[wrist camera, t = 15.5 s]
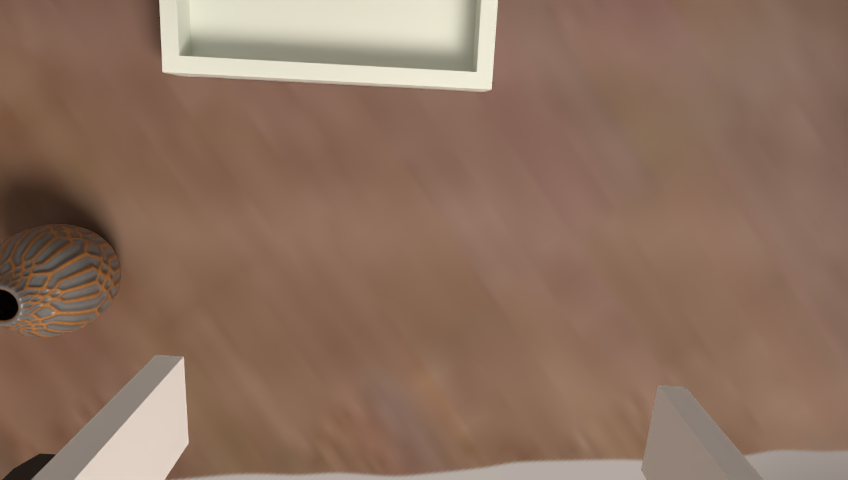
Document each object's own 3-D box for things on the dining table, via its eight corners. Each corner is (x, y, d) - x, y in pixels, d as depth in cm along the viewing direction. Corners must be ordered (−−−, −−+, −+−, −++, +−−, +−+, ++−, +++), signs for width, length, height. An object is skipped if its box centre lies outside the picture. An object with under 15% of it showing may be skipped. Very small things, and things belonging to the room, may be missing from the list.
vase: (121, 208, 38) (44, 233, 30) (147, 304, 40) (81, 354, 31) (19, 224, 38) (-87, 254, 30) (49, 319, 40) (-45, 374, 31)
